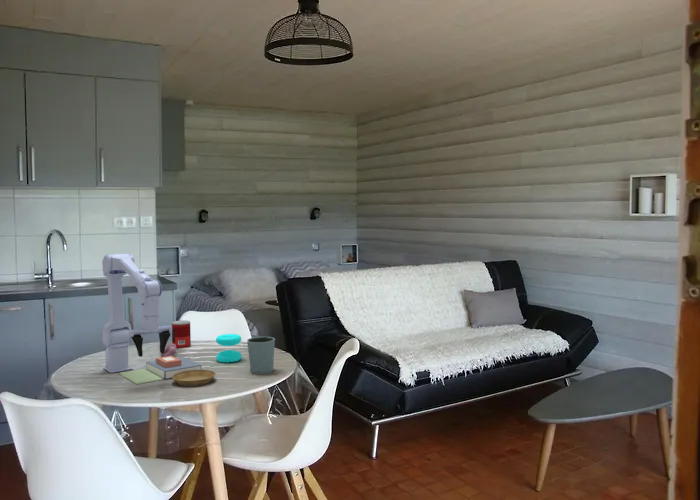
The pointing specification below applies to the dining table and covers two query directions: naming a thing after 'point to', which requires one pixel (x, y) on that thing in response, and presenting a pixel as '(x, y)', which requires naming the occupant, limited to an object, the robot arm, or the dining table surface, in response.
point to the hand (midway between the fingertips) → (151, 354)
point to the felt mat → (141, 376)
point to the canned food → (181, 334)
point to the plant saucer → (194, 377)
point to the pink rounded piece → (169, 350)
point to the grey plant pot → (261, 354)
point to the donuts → (228, 354)
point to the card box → (168, 361)
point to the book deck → (172, 368)
